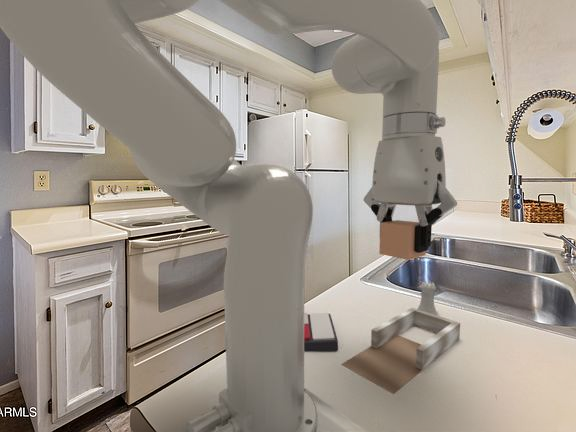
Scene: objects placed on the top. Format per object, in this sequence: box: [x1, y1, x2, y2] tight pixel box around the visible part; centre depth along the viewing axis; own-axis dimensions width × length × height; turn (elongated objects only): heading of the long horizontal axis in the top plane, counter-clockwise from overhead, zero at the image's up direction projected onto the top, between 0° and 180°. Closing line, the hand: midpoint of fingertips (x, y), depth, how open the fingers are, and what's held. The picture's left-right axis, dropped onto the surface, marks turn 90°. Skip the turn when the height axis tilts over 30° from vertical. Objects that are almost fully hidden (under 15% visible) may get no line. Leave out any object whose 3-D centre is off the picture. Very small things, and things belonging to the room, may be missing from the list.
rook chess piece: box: [416, 280, 438, 316], centre depth 67 cm, size 4×4×8 cm
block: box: [379, 219, 427, 261], centre depth 49 cm, size 5×5×5 cm
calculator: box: [304, 312, 339, 352], centre depth 58 cm, size 11×4×15 cm
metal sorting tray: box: [340, 307, 461, 395], centre depth 52 cm, size 22×9×4 cm, turn 131°
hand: (403, 247), depth 49 cm, fingers closed on block, 5 cm apart
